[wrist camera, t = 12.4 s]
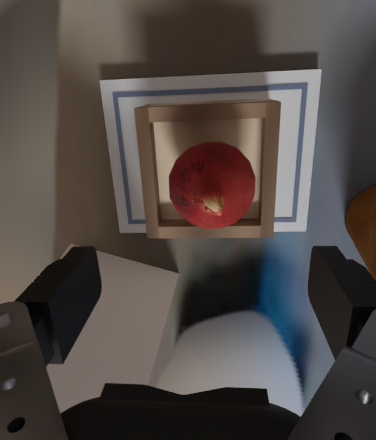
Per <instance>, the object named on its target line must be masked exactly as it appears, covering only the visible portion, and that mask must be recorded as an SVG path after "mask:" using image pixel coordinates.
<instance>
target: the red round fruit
mask: <svg viewBox="0 0 376 440" xmlns="http://www.w3.org/2000/svg"><path fill="white" fill-rule="evenodd" d="M255 180H256V177H255V174H254V171H253V169H252V166H251V163H250V161H249V160H248V159H247V158H246V157H245V155H244V154H243V153H242V152H241V151H240V150H239V149H238V148H236V147H234V146H231V145H229V144H226V143H223V142H203V143H200V144H198V145H195V146H192V147H190V148H188V149H187V150H186V151H185V152H184V153H183V154H181V155H180V156H179V157H178V158H177V159H176V161H175V163H174V165H173V167H172V170H171V172H170V174H169V196H170V200H171V201H172V203H173V205H174V207H175V208H176V210H177V212H178V213H179V214H180V215H181V216H182V217H183V218H185V219H186V220H187V221H188V222H190V223H191V224H193V225H196V226H199V227H202V228H205V229H215V228H223V227H226V226H229V225H231V224H234V223H236V222H237V221H238V220H239V219H240V218H241V217H242V216H243V215H244V214H245V213H246V212H247V211H248V210H249V208H250V205H251V203H252V201H253V199H254V196H255Z"/></svg>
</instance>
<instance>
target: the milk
mask: <svg viewBox="0 0 376 440" xmlns="http://www.w3.org/2000/svg"><path fill="white" fill-rule="evenodd" d="M74 246H79V245H75V244H70V245H69V246H68V248H67V249H66V250H65V252H64V253H63V254H62V255H61V257H60V258H59V259H62V258H63V257H64V256H65V255H66V254H67V253H68V252H69V250H70V249H71V248H72V247H74ZM96 252H97V257H98V263H99V269H100V275H101V282H102V290H101V295H100V298H99V300H98V302H97V304H96V306H95V307H94V309H93V311H92V313H91V315H90V317H89V318H88V320H87V322H86V324H85V326H84V327H83V329H82V331H81V333H80V335H79V336H78V338H77V340H76V342H75V344H74V346H73V347H72V349H71V351H70V353H69V355H68V356H67V358H66V360H65V362H64V364H48V365H47V367H46V369H47V372H48V375H49V378H50V382H51V385H52V388H53V391H54V395H55V398H56V401H57V404H58V408H59V411H60V413H62V412H63V411H65V410H67V409H68V408H70V407H72V406H74V405H76V404H78V403H81V402H83V401H86V400H89V399H92V398H96V397H100V395H101V393H102V390H103V387H104V385H105V383H119V384H144V385H148V383H149V379H150V376H151V372H152V369H153V365H154V361H155V358H156V354H157V351H158V347H159V344H160V340H161V337H162V333H163V330H164V326H165V322H166V319H167V315H168V312H169V308H170V305H171V301H172V298H173V294H174V291H175V287H176V283H177V280H178V276H179V273H175V272H172V271H168V270H165V269H161V268H157V267H154V266H150V265H147V264H143V263H140V262H136V261H132V260H129V259H125V258H122V257H118V256H114V255H111V254H107V253H104V252H100V251H96ZM59 259H58V260H59Z"/></svg>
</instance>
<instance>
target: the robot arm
mask: <svg viewBox="0 0 376 440" xmlns="http://www.w3.org/2000/svg"><path fill="white" fill-rule="evenodd" d="M101 290H102V282H101V275H100V269H99V263H98V257H97V252H96V249H95V247H93V246H74V247H72V248H71V249H70V250H69V252H68V253H67V254H66V255H65V256H64V257H63V258H62V259H59V260H57V261H55V262H53V263H52V264H50V265H48V266H47V267H46V268H45V269H44V270H43V271H42V272H41V274H40V276H38V277H37V278H36V279H35V280H34V282H32V283H31V284H30V285H29V286H28V287H27V288H26V290H25V291H24V292H23V293H22V294H21V295H20V296H19V297H18V298H17V299H16V300H15V301H14V302H6V303H2V304H0V440H376V280H375V279H374V278H372V275H371V274H370V272H369V271H368V270H367V269H366V268H365V267H364V266H362V265H361V264H359V263H358V262H356V261H354V260H347V259H346V258H345V257H344V255H343V254H342V253H341V251H340V250H339V249H338V247H337V246H314V247H313V248H312V252H311V261H310V270H309V280H308V295H309V299H310V302H311V305H312V307H313V309H314V312H315V314H316V316H317V319H318V321H319V323H320V326H321V328H322V330H323V333H324V335H325V337H326V340H327V342H328V344H329V347H330V349H331V351H332V354H333V356H334V358H335V362H334V364H333V365H332V367H331V368H330V370H329V372H328V373H327V375H326V377H325V378H324V380H323V381H322V383H321V385H320V386H319V388H318V390H317V391H316V393H315V395H314V396H313V398H312V399H311V401H310V403H309V404H308V406H307V408H306V409H305V411H304V413H303V414H302V416H301V417H300V416H298V415H297V414H295V413H293V412H291V411H289V410H287V409H285V408H283V407H280V406H277V405H274V404H271V403H269V400H268V395H267V394H268V393H267V389H259V388H230V387H225V388H219V389H214V390H209V391H204V392H198V393H193V394H188V395H180V394H176V393H173V392H169V391H165V390H162V389H158V388H155V387H151V386H148V385H144V384H119V383H105V385H104V387H103V390H102V393H101V395H100V397H96V398H92V399H89V400H86V401H83V402H81V403H78V404H76V405H74V406H72V407H70V408H68V409H67V410H65V411H63V412H62V413H60V411H59V408H58V404H57V401H56V398H55V395H54V391H53V388H52V385H51V382H50V378H49V375H48V372H47V369H46V367H47V365H48V364H64V362H65V360H66V358H67V356H68V355H69V353H70V351H71V349H72V347H73V346H74V344H75V342H76V340H77V338H78V336H79V335H80V333H81V331H82V329H83V327H84V326H85V324H86V322H87V320H88V318H89V317H90V315H91V313H92V311H93V309H94V307H95V306H96V304H97V302H98V300H99V298H100V295H101Z"/></svg>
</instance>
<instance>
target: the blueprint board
mask: <svg viewBox="0 0 376 440" xmlns="http://www.w3.org/2000/svg"><path fill="white" fill-rule="evenodd" d="M321 73H322V69H312V70H293V71H273V72H254V73H234V74H215V75H195V76H176V77H156V78H136V79H117V80H99V82H100V89H101V97H102V104H103V111H104V119H105V126H106V134H107V141H108V148H109V156H110V163H111V171H112V178H113V185H114V193H115V200H116V208H117V215H118V222H119V230H120V233H147V232H146V222H145V212H144V203H143V193H142V183H141V173H140V163H139V153H138V144H137V134H136V124H135V114H134V108H136V107H139V106H143V105H146V104H153V103H175V102H198V101H220V100H243V99H266V98H269V99H273V100H277V101H280V102H281V114H280V131H279V148H278V165H277V183H276V200H275V217H274V232H288V231H306V225H307V215H308V205H309V195H310V185H311V174H312V164H313V154H314V144H315V134H316V124H317V114H318V103H319V93H320V83H321Z"/></svg>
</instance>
